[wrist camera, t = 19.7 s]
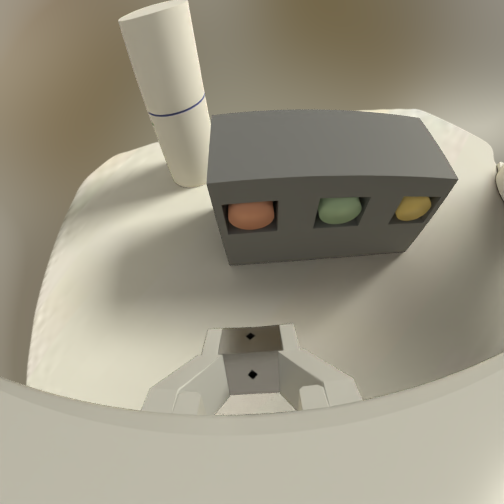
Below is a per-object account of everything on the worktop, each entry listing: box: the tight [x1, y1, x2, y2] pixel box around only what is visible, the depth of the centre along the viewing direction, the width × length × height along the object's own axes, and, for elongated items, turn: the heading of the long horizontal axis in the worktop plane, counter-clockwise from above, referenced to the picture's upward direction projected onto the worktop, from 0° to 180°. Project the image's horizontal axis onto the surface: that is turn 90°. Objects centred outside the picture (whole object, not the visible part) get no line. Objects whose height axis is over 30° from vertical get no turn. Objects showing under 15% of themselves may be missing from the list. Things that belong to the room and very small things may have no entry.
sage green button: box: [318, 197, 362, 224], centre depth 25 cm, size 4×3×4 cm
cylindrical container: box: [118, 0, 211, 188], centre depth 29 cm, size 7×7×25 cm
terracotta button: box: [228, 201, 274, 230], centre depth 25 cm, size 4×3×4 cm
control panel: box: [207, 110, 458, 266], centre depth 28 cm, size 22×9×14 cm, turn 93°
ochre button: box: [395, 197, 431, 221], centre depth 25 cm, size 4×3×4 cm
